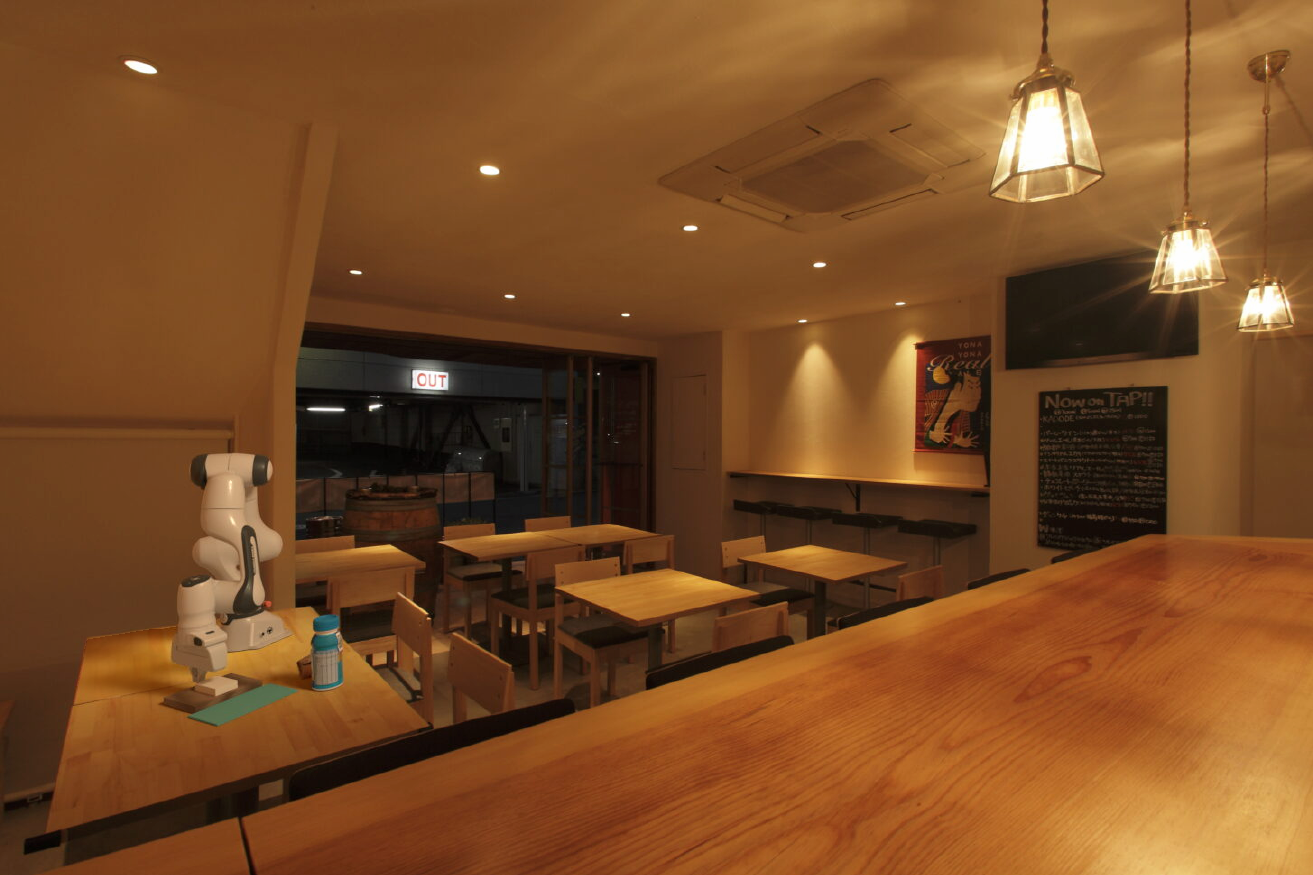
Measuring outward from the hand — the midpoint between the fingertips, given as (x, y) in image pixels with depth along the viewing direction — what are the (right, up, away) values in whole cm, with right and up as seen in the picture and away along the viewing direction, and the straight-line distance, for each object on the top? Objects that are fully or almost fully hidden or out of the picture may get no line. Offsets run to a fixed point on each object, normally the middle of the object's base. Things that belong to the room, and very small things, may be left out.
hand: (198, 681), depth 179 cm
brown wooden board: (+6, -3, -2) cm, 7 cm away
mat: (+18, -3, -8) cm, 20 cm away
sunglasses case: (+23, -3, +17) cm, 29 cm away
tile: (+7, -1, -3) cm, 8 cm away
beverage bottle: (+35, -3, +3) cm, 35 cm away
